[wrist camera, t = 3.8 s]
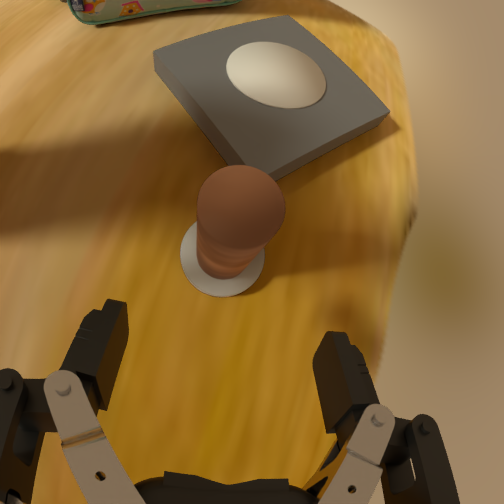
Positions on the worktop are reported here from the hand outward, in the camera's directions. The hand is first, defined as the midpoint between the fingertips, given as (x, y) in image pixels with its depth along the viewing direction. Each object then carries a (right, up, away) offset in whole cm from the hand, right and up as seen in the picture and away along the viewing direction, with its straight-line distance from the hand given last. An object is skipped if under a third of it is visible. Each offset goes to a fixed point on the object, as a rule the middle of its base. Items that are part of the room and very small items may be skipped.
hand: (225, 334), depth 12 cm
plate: (+3, +20, +17) cm, 27 cm away
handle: (-1, +3, +13) cm, 13 cm away
